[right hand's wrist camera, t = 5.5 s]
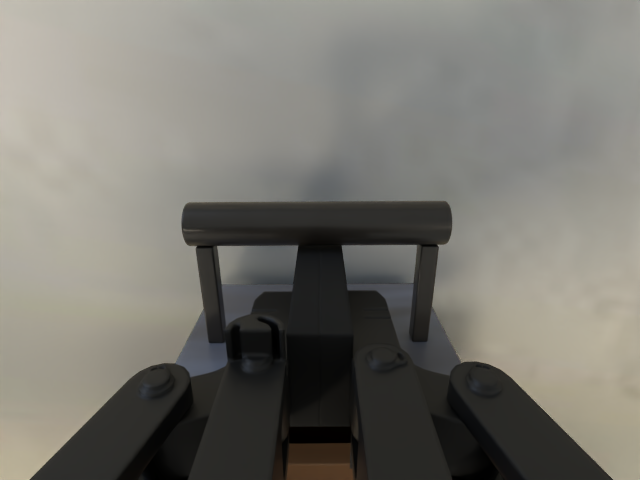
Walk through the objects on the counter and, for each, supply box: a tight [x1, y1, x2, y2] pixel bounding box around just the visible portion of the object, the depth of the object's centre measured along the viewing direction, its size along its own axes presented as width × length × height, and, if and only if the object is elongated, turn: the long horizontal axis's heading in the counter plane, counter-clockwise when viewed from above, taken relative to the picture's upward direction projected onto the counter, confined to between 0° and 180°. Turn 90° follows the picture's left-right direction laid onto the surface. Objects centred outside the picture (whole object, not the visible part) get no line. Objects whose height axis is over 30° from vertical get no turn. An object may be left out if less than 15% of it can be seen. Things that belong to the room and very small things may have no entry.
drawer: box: [175, 201, 461, 444], centre depth 18 cm, size 22×10×7 cm, turn 0°
